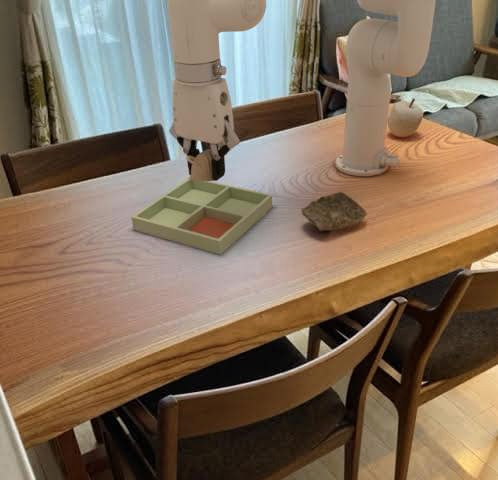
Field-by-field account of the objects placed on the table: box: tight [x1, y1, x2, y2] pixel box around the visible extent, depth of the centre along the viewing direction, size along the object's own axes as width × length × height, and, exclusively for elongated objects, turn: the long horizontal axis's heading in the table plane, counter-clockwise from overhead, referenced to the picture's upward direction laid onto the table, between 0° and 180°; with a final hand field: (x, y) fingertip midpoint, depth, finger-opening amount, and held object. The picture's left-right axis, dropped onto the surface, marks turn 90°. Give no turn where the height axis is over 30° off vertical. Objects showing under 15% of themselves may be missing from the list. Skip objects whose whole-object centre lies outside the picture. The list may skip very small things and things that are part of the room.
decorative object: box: [387, 97, 424, 138], centre depth 142 cm, size 9×9×10 cm
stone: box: [300, 191, 368, 232], centre depth 108 cm, size 13×8×8 cm
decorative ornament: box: [185, 148, 215, 182], centre depth 99 cm, size 4×8×5 cm, turn 130°
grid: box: [130, 177, 273, 255], centre depth 112 cm, size 21×21×3 cm
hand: (206, 174), depth 100 cm, fingers closed on decorative ornament, 4 cm apart
